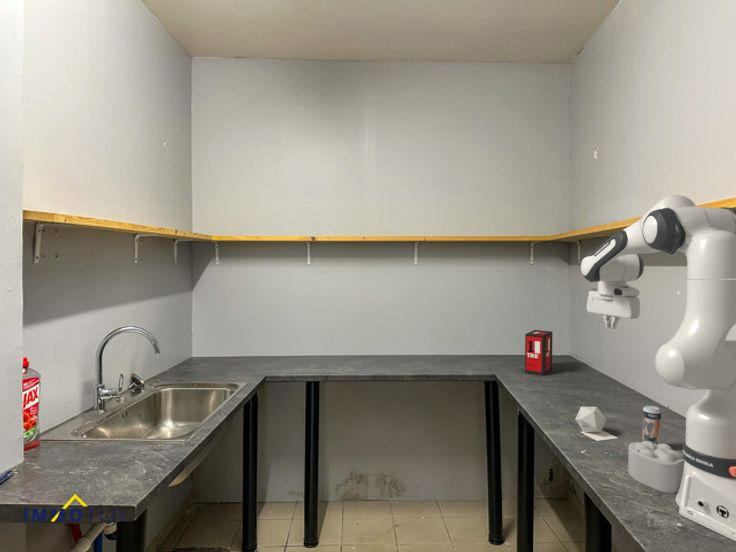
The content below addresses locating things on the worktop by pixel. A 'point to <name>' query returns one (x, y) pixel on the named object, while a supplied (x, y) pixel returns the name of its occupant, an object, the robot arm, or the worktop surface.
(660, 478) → the lumpy-topped squat cylinder
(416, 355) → the worktop surface
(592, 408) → the die
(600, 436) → the pad
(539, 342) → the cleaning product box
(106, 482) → the worktop surface
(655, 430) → the beer can
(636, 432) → the worktop surface
